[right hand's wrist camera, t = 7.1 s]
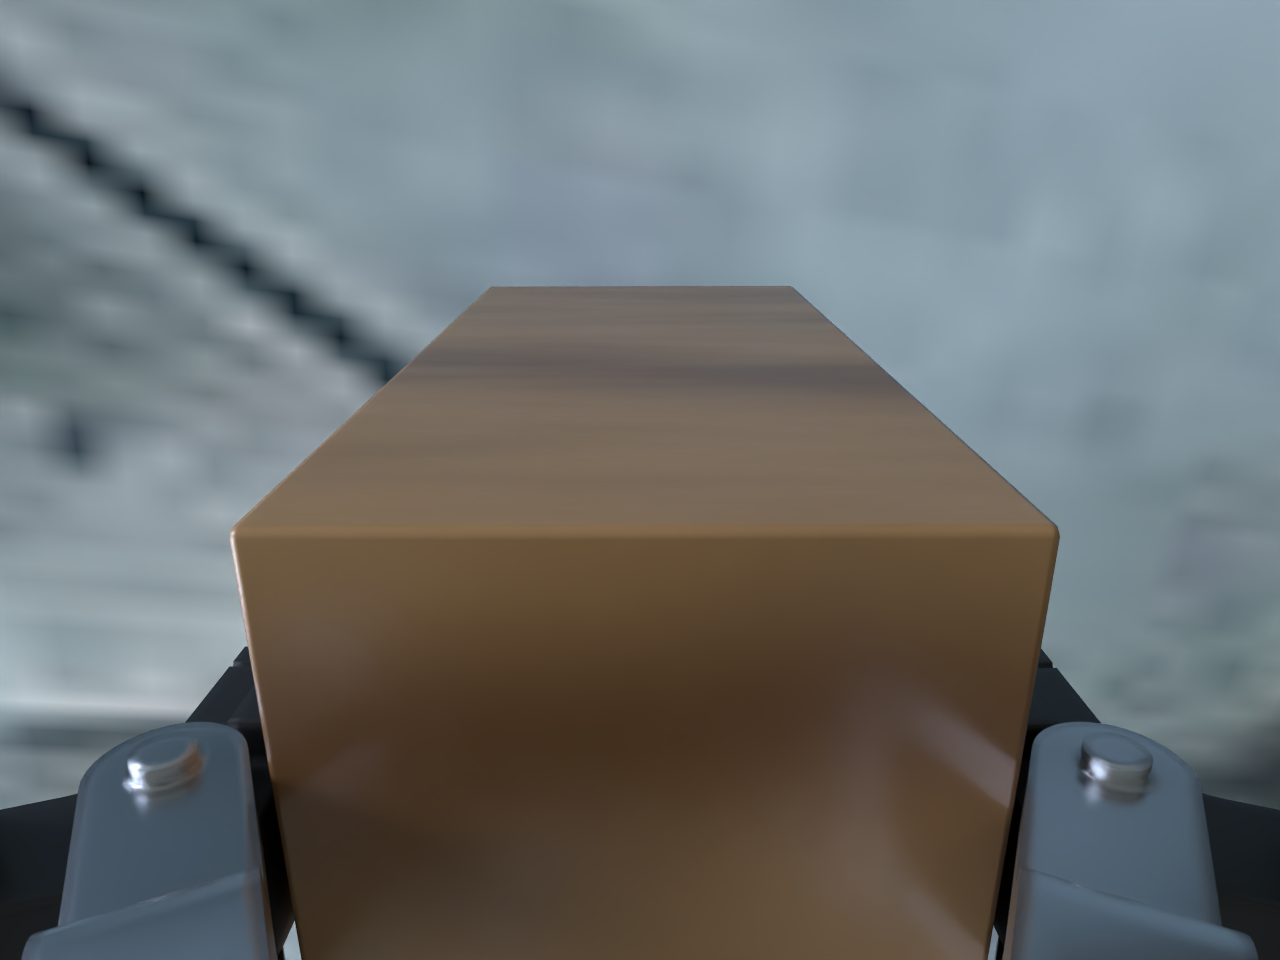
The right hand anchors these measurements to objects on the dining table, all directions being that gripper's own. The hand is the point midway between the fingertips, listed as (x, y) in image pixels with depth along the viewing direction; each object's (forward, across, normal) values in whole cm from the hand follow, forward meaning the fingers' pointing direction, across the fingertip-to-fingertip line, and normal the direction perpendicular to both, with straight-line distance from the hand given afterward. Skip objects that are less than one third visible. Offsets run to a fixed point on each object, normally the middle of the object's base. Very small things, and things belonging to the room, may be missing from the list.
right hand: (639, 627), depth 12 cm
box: (+8, 0, +11) cm, 13 cm away
